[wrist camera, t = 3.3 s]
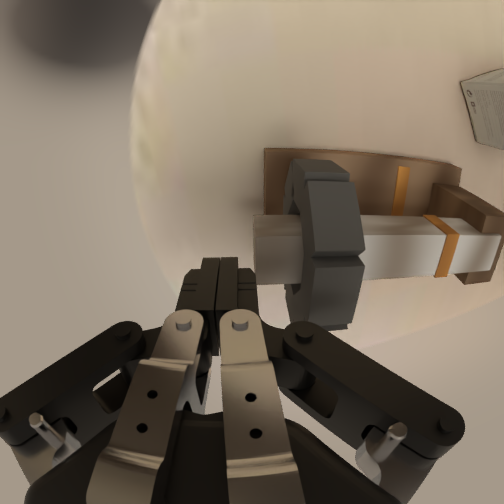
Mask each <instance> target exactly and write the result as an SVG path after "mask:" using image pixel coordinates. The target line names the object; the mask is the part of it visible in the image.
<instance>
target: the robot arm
mask: <svg viewBox="0 0 504 504" xmlns="http://www.w3.org/2000/svg"><path fill="white" fill-rule="evenodd" d="M219 347H220V355H221V385H222V402H223V412H218V413H213V414H208V415H205V405H206V400H207V394H208V388H209V383H210V377H211V364H212V356H219ZM118 369H119V370H120V372H121V373H119V374H118V375H116V376H115V377H114V378H112V379H111V380H109V381H108V382H106V383H105V384H104V385H102V386H101V387H99V388H98V389H97V390H95V391H93V388H94V387H95V386H96V385H97V384H98V383H99V382H101V381H102V380H103V379H105V378H106V377H108V376H109V375H111V374H112V373H114V372H115V371H116V370H118ZM278 386H279V389H280V391H281V392H282V393H283V394H284V395H285V396H287V397H288V398H289V399H290V400H291V401H293V402H294V403H295V404H296V405H298V406H299V407H300V408H301V409H303V410H304V411H305V412H306V413H308V414H309V415H310V416H311V417H313V418H314V419H315V420H316V421H318V422H319V423H320V424H322V425H323V426H324V427H326V428H327V429H328V430H330V431H331V432H332V433H334V434H335V435H336V436H338V437H339V438H341V439H342V440H343V441H344V442H346V443H347V444H349V445H350V446H351V447H353V448H354V449H356V450H357V451H356V455H355V460H356V464H357V466H358V467H359V469H361V470H362V471H363V472H364V473H365V475H366V476H367V477H366V476H365V475H363V474H362V473H361V472H359V471H358V470H357V469H355V468H354V467H353V466H351V465H350V464H349V463H348V462H346V461H345V460H344V459H343V458H341V457H340V456H339V455H338V454H336V453H335V452H334V451H333V450H332V449H330V448H329V447H328V446H327V445H325V444H324V443H323V442H322V441H321V440H319V439H318V438H317V437H316V436H315V435H314V434H312V433H311V432H310V431H309V430H308V429H306V428H305V427H303V426H301V425H300V424H298V423H296V422H294V421H291V420H289V419H286V418H284V414H283V409H282V405H281V400H280V396H279V391H278ZM464 432H465V423H464V420H463V417H462V416H461V414H460V413H459V412H458V411H457V410H455V409H454V408H452V407H450V406H449V405H447V404H445V403H443V402H442V401H440V400H438V399H437V398H435V397H433V396H432V395H430V394H428V393H426V392H425V391H423V390H422V389H420V388H418V387H417V386H415V385H413V384H412V383H410V382H408V381H407V380H405V379H403V378H402V377H400V376H398V375H397V374H395V373H393V372H392V371H390V370H388V369H387V368H385V367H383V366H382V365H380V364H379V363H377V362H375V361H374V360H372V359H371V358H369V357H368V356H366V355H364V354H362V353H361V352H360V351H358V350H356V349H355V348H353V347H352V346H350V345H348V344H347V343H345V342H344V341H342V340H341V339H339V338H337V337H336V336H334V335H333V334H331V333H330V332H328V331H326V330H325V329H323V328H322V327H320V326H319V325H317V324H315V323H312V322H309V321H297V322H293V323H291V324H289V325H288V326H287V327H286V328H285V329H280V328H276V327H272V326H270V325H268V324H266V323H265V322H264V321H262V319H261V318H260V316H259V309H258V297H257V285H256V275H255V273H254V272H253V271H252V270H251V268H238V257H221V261H220V258H203V260H202V265H201V269H191V270H190V271H189V272H188V273H187V274H186V275H185V277H184V280H183V285H182V287H181V291H180V295H179V298H178V302H177V306H176V309H175V312H173V313H172V314H170V315H169V316H168V317H167V318H166V319H165V321H164V324H163V326H161V327H158V328H155V329H150V330H145V331H142V328H141V326H140V325H138V324H137V323H135V322H132V321H124V322H119V323H117V324H115V325H113V326H111V327H110V328H108V329H107V330H105V331H104V332H102V333H101V334H99V335H97V336H96V337H94V338H93V339H91V340H90V341H88V342H86V343H85V344H83V345H82V346H80V347H79V348H77V349H75V350H74V351H72V352H71V353H69V354H68V355H66V356H64V357H63V358H61V359H60V360H58V361H57V362H55V363H54V364H52V365H50V366H49V367H47V368H46V369H44V370H43V371H41V372H40V373H38V374H36V375H35V376H34V377H32V378H30V379H29V380H27V381H26V382H24V383H23V384H21V385H20V386H18V387H16V388H15V389H14V390H12V391H10V392H9V393H8V394H6V395H4V396H3V397H1V398H0V437H1V438H2V439H3V440H4V441H5V442H6V443H7V444H8V445H9V446H10V447H11V449H12V451H13V453H14V455H15V457H16V459H17V461H18V463H19V465H20V467H21V469H22V471H23V473H24V475H25V476H26V478H27V480H28V482H29V483H30V485H31V486H30V487H29V489H28V491H27V493H26V496H25V501H24V504H407V503H408V502H409V501H410V499H411V498H412V496H413V495H414V494H415V492H416V491H417V490H418V488H419V487H420V485H421V484H422V482H423V481H424V479H425V478H426V476H427V475H428V473H429V472H430V470H431V469H432V467H433V465H434V464H435V462H436V461H437V460H438V459H439V458H441V457H442V456H443V455H444V454H445V453H446V452H448V451H449V450H450V449H451V448H452V447H453V446H454V445H455V444H456V443H458V441H460V440H461V438H462V437H463V435H464Z"/></svg>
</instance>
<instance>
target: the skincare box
mask: <svg viewBox="0 0 504 504" xmlns="http://www.w3.org/2000/svg"><path fill="white" fill-rule="evenodd" d="M461 86H462V89H463V92H464V95H465V98H466V101H467V105H468V109H469V113H470V117H471V122H472V126H473V130H474V135H475V139H476V141H477V142H478V143H481V144H484V145H488V146H492V147H495V148H498V149H502V150H504V68H503V69H500V70H496V71H492V72H489V73H486V74H483V75H480V76H477V77H475V78H472V79H470V80H466V81H463V82H461Z"/></svg>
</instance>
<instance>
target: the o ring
mask: <svg viewBox="0 0 504 504" xmlns="http://www.w3.org/2000/svg"><path fill="white" fill-rule="evenodd" d="M349 180H350V173H349V172H347V171H346V170H344V169H343V168H342V167H340V166H339V165H337V164H336V163H334V162H333V161H331V160H318V159H293V161H291V163H290V167H289V171H288V175H287V179H286V183H285V187H284V189H285V195H283V215H300V216H301V227H302V238H303V249H304V257H303V268H302V278H301V283H296V284H284V290H286V297H285V298H286V303H287V308H288V312H289V317H290V322H291V323H293V322H297V321H309V322H312V323H315V324H317V325H319V326H320V327H322V328H323V329H325V330H326V331H334V330H343V329H348V328H347V324H349V323H352V320H353V316H354V312H355V308H356V304H357V300H358V296H359V292H360V288H361V283H362V279H363V274H364V270H365V265H364V263H363V262H362V261H361V259H360V258H359V255H360V254H361V253H363V252H364V251H365V250H366V249H365V242H364V235H363V228H362V222H361V216H360V210H359V205H358V199H357V194H356V189H355V184H354V182H349Z"/></svg>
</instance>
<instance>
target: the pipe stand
mask: <svg viewBox="0 0 504 504" xmlns="http://www.w3.org/2000/svg"><path fill="white" fill-rule="evenodd" d="M293 159H318V160H331V161H333V162H334V163H336V164H337V165H339V166H340V167H342V168H343V169H344V170H346V171H347V172H349V173H350V180H349V182H354V184H355V189H356V194H357V199H358V205H359V210H360V216H361V222H362V228H363V235H364V242H365V249H366V250H365V251H364V252H363V253H361V254H360V255H359V258H360V259H361V261H362V262H363V263H364V265H365V270H364V274H363V279H362V280H376V279H391V278H405V277H419V276H432V275H433V276H434V277H435V278H436V277H447V274H455V275H456V277H457V278H458V279H459V280H460V281H461V282H462V283H463V284H464V285H467V284H474V283H482V282H489V281H490V280H491V277H492V275H493V272H494V269H495V267H496V264H497V261H498V258H499V256H500V253H501V250H502V247H503V244H504V213H503V212H502V211H500V210H498V209H497V208H495V207H494V206H492V205H490V204H489V203H487V202H486V201H484V200H482V199H481V198H479V197H477V196H475V195H474V194H472V193H470V192H468V191H467V190H465V189H463V188H461V187H459V182H460V176H461V170H462V169H461V168H459V167H457V166H454V165H452V164H448V163H442V162H436V161H429V160H423V159H416V158H409V157H401V156H393V155H384V154H374V153H364V152H352V151H338V150H320V149H294V148H264V215H253V248H254V269H255V275H256V285H267V284H296V283H301V278H302V268H303V257H304V249H303V238H302V227H301V216H300V215H283V195H285V189H284V187H285V183H286V179H287V175H288V171H289V167H290V163H291V161H293Z"/></svg>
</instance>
